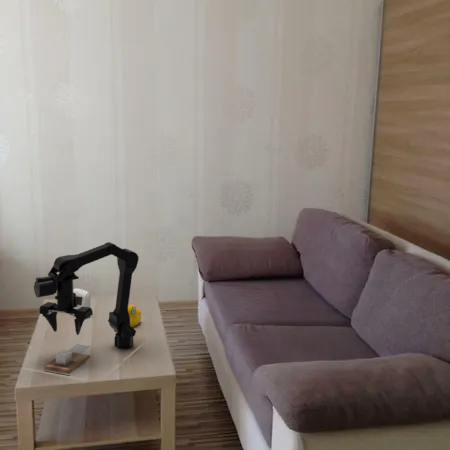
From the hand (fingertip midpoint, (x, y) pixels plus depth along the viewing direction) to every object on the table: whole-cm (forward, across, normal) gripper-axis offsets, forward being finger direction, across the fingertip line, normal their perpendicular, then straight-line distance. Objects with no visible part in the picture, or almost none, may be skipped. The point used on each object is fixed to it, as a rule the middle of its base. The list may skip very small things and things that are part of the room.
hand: (66, 332), depth 208 cm
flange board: (+12, -1, +2) cm, 12 cm away
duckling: (+12, -6, -41) cm, 43 cm away
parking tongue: (+12, +2, -10) cm, 16 cm away
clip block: (+12, -1, +5) cm, 13 cm away
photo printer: (+12, +21, -44) cm, 51 cm away
